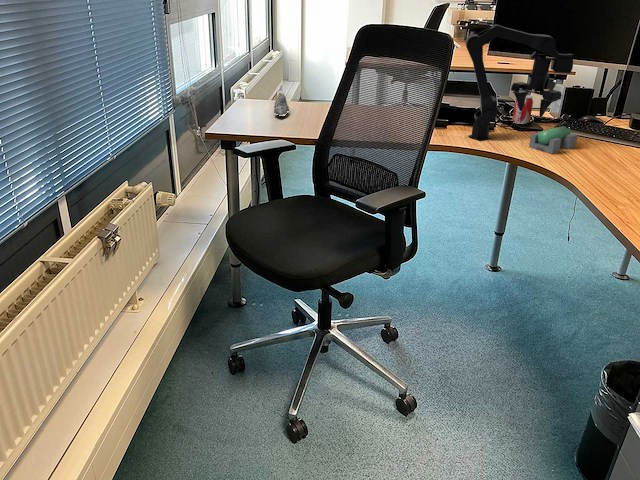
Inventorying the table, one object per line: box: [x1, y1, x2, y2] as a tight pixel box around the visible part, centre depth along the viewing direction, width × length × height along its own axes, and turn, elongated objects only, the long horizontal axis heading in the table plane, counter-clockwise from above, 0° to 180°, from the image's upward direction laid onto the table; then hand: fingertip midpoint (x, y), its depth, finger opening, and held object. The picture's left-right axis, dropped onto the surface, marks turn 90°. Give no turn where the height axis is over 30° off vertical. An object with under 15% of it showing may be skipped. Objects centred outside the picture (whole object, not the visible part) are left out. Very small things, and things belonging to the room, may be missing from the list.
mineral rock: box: [273, 92, 290, 115], centre depth 236 cm, size 13×11×10 cm
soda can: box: [511, 94, 534, 124], centre depth 226 cm, size 7×7×12 cm
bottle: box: [537, 125, 572, 145], centre depth 200 cm, size 16×5×5 cm, turn 123°
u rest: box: [528, 132, 579, 155], centre depth 200 cm, size 14×10×5 cm
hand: (530, 113), depth 203 cm, fingers open, 9 cm apart
